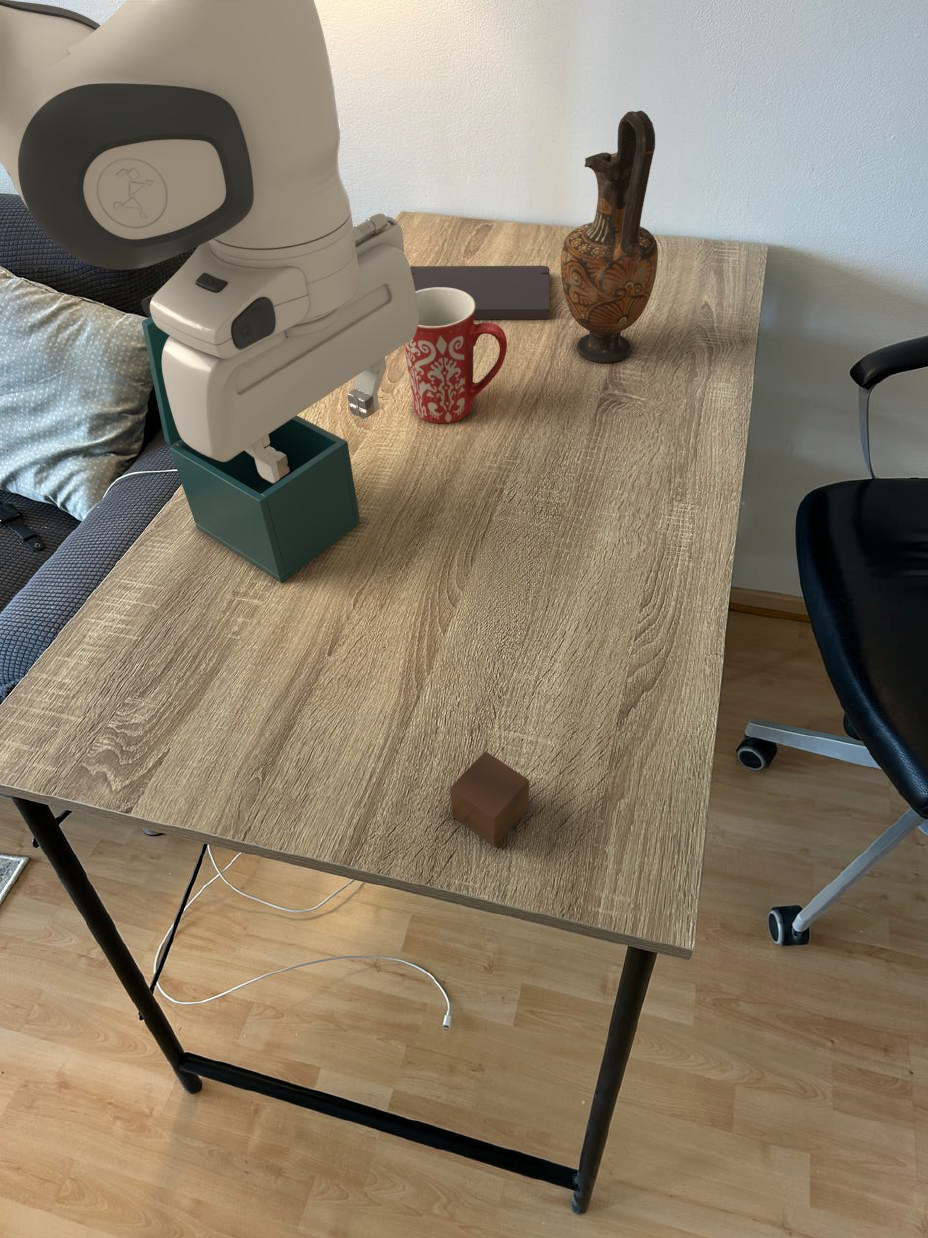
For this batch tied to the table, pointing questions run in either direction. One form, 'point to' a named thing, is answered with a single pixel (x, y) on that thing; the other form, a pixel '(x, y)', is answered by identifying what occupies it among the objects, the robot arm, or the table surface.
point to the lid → (159, 372)
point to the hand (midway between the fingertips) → (321, 442)
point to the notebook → (493, 288)
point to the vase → (613, 246)
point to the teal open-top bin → (274, 498)
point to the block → (489, 798)
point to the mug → (447, 355)
